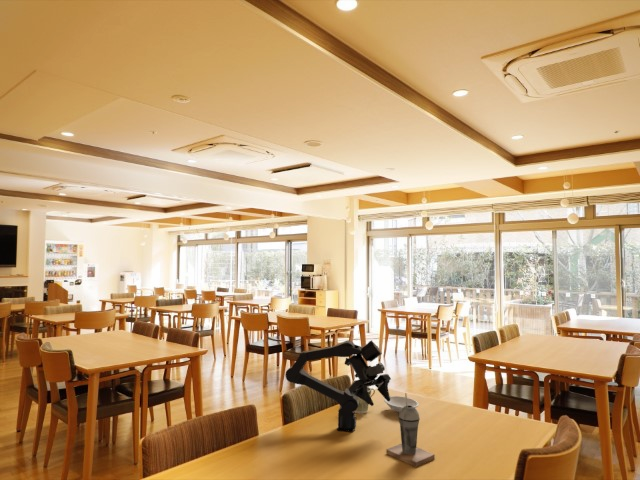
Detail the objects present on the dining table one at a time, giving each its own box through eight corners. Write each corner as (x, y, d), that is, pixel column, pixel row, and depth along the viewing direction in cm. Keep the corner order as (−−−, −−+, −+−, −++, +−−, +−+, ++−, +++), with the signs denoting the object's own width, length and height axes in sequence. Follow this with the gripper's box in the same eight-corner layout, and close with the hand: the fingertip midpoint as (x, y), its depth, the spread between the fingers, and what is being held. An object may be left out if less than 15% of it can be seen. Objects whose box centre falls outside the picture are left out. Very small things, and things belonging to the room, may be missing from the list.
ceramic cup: (356, 416, 189) (356, 393, 190) (345, 409, 198) (345, 387, 199) (380, 412, 195) (381, 389, 196) (368, 405, 204) (368, 384, 205)
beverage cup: (423, 455, 146) (422, 395, 147) (402, 457, 145) (402, 396, 146) (415, 447, 153) (414, 389, 155) (395, 448, 152) (395, 390, 153)
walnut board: (386, 453, 151) (386, 449, 151) (404, 446, 157) (404, 442, 157) (416, 467, 141) (416, 462, 141) (434, 458, 147) (434, 454, 147)
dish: (426, 417, 189) (426, 405, 189) (398, 421, 183) (398, 409, 184) (403, 405, 205) (403, 394, 206) (377, 408, 200) (377, 397, 200)
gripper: (354, 359, 163) (375, 395, 154) (387, 353, 175) (408, 387, 166) (340, 376, 169) (359, 412, 160) (373, 369, 181) (393, 403, 172)
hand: (381, 403), depth 164 cm, fingers open, 9 cm apart
